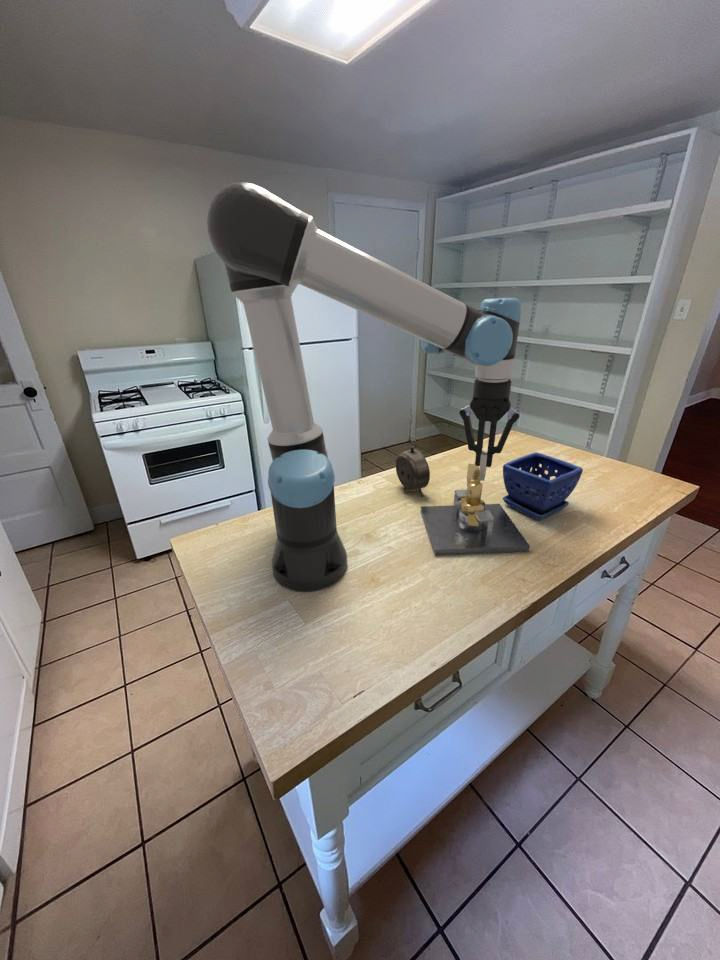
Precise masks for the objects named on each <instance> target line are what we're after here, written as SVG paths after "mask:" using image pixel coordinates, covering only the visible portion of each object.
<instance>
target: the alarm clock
mask: <svg viewBox="0 0 720 960" xmlns="http://www.w3.org/2000/svg"><path fill="white" fill-rule="evenodd" d="M410 439H413V440H414V442H415V445H414V446H413V445H412V446H411V443H410ZM407 442H408V446H409V448H410V449H409V450H406V451H402V452H400V453H399V454H398V455H397V457H396V459H395V471H396V472H395V473H396V475H397V478H398V480H399V483H400V485H402V487H403V490H402V493H403V494H404V493H405V492H406V490H407V491H410V492H414V491H418V493H419V495H420V497H421V498H423V497H424V494H423V491H422V489H424V488H427V486H428V485H429V482H430V480H431V479H430V478H431V471H430V466H429V464H428V461H427V459H426V457H425V455H424V454H423V453H422V452H421V451H420V450H419V449H417V448H416V447H417V440H416V438H415V437H414V436H412V435H411V436H409V438H408V441H407Z"/></svg>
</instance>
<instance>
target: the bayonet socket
mask: <svg viewBox="0 0 720 960" xmlns="http://www.w3.org/2000/svg"><path fill="white" fill-rule="evenodd" d="M453 495H454V496H453V505H428V506H427V505H424V506H420V514H421V517H422V521H423V523H424V526H425V530H426V533H427V536H428V539H429V542H430V545H431V549H432V551H433V554H434V556H457V555H459V556H460V555H484V554H485V555H487V554H514V553H530V549H531V546H530V544H529V543H528V542H527V540H526V538H525V537H524V535H523V534H522V533H521V531H520V530H519V529H518V527H517V526H516V524H515V523H514V522H513V520H512V519H511V517H510V516H509V514H508V513H507V512H506V510H505V509H504V508H503V506H502V505H501V504H500V503H485V510H482V511H474V514H475V516H476V518H477V519H478V521H479V524H478V526H471V525H468V515H465V514H463V513H462V512H461V510H460V508H461V500H462V499H464V498H467V489H454V494H453Z"/></svg>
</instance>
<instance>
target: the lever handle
mask: <svg viewBox="0 0 720 960" xmlns="http://www.w3.org/2000/svg"><path fill="white" fill-rule="evenodd" d="M479 468H480V466H476V465H475V463H468V464H467V472H466V488H467V489H466V490H467V498H464V499H462V500H461V508H460V510H461V512H462V513H463V514H465V515H468V525H471V526H478V524H479V521H478V519H477V518H476V516H475V514H474V511H482V510H485V504H486V502H485V501H484V500H483V499H482V491H483V483H482V482H481V480H480V472H479Z"/></svg>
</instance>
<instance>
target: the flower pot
mask: <svg viewBox="0 0 720 960" xmlns="http://www.w3.org/2000/svg"><path fill="white" fill-rule="evenodd" d="M540 465H541V466H540ZM583 470H584V468H582V467H581V466H578V465H576V464H574V463H570V462H568V461H565V460H562V459H560V458H559V459H558V458H556V457H553V456H549V455H548V454H547V455H546V454H543V453H541V452H536V451H535V452H532V453H529V454H526V455H523V456H520V457H518V458H516V459H513V460H511V461H508V462H506V463H504V464H503V465H502V479H503V483H504V487H505V491H506V492H507V494H506V495H504V496H502V500H503V502H504V503H505V504H506V505H507V506H508V507H510V508H513V509H514V510H516V511H518V512H521V513H522V514H524V515H527V516H528V517H531V518H533V520H536V521H540V520H543V519H545V518H547V517H549V516H551V515H553V514H555V513H557V512H559V511H561V510H563V509H564V508H566V507H567V506H568V505H569V504H570V503H569V502H568V501H567V500H566V499H567V498H568V497H569V496H570V495H571V494H572V493H573V491H574V490H575V488H576V487H577V485H578V483H579V481H580V479H581V476H582V474H583ZM546 472H547V473H546ZM552 477H554V478H553V479H551V478H552Z"/></svg>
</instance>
